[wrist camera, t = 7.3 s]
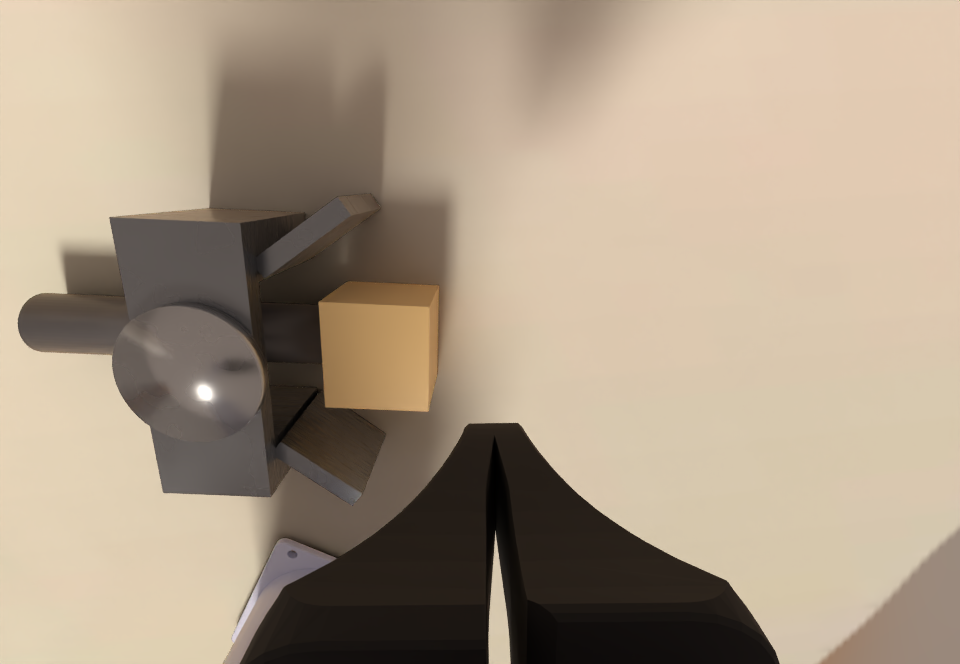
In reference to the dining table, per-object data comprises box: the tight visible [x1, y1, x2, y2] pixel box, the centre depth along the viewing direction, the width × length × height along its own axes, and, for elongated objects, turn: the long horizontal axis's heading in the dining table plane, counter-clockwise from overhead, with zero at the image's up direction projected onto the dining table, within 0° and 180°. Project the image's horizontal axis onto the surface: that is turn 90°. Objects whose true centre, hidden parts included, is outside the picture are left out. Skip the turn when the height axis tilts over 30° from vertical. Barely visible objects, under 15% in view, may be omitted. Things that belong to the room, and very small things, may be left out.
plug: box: [18, 281, 439, 412], centre depth 19 cm, size 16×4×4 cm, turn 87°
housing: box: [109, 194, 386, 506], centre depth 18 cm, size 8×12×6 cm, turn 177°
